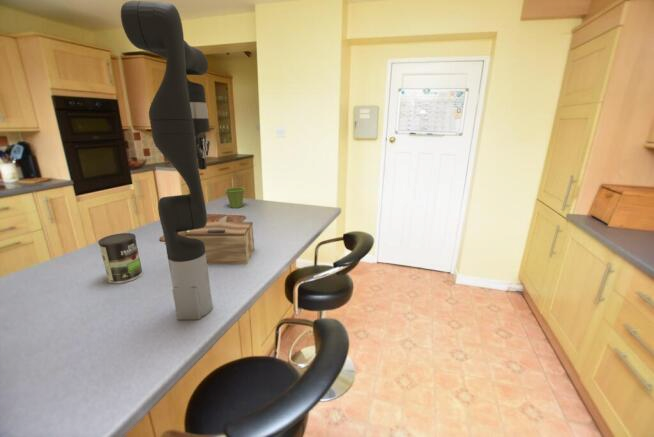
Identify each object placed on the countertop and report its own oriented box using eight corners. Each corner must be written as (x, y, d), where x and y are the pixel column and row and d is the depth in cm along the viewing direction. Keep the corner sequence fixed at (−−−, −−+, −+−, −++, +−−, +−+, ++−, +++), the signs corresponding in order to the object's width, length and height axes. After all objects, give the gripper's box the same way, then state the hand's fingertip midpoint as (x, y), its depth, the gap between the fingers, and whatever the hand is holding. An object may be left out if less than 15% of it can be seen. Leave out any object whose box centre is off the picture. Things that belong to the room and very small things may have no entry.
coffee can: (149, 270, 108) (142, 233, 104) (126, 285, 99) (117, 245, 94) (125, 267, 110) (117, 231, 106) (99, 282, 101) (89, 242, 96)
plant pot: (241, 203, 197) (239, 186, 194) (249, 207, 189) (248, 189, 185) (223, 206, 190) (221, 188, 187) (231, 210, 181) (229, 192, 178)
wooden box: (246, 263, 114) (244, 236, 110) (190, 263, 114) (186, 236, 110) (254, 249, 127) (252, 224, 123) (204, 249, 126) (200, 224, 123)
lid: (244, 236, 110) (243, 231, 110) (186, 236, 110) (185, 231, 110) (252, 223, 124) (252, 219, 123) (201, 223, 123) (200, 219, 123)
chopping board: (205, 214, 175) (204, 209, 174) (249, 216, 172) (249, 211, 171) (152, 244, 133) (151, 237, 132) (210, 247, 129) (209, 241, 128)
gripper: (200, 117, 95) (206, 172, 100) (214, 117, 107) (219, 166, 113) (176, 117, 95) (184, 172, 100) (193, 117, 107) (199, 166, 113)
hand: (202, 169), depth 106 cm, fingers closed
